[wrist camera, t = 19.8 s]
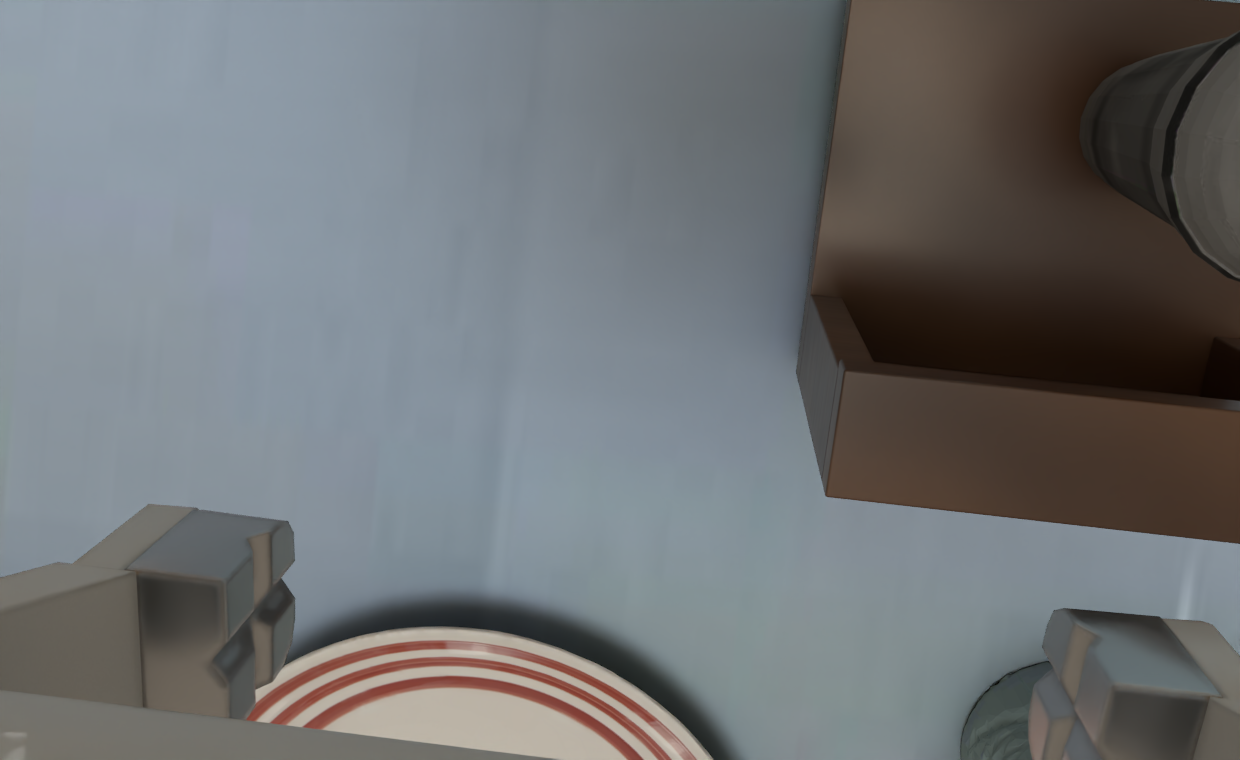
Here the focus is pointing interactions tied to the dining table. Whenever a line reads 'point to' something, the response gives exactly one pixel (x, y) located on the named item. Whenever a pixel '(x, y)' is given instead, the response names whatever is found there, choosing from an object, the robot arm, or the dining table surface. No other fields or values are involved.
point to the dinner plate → (474, 697)
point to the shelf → (1012, 280)
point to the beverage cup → (1175, 143)
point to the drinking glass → (1003, 718)
